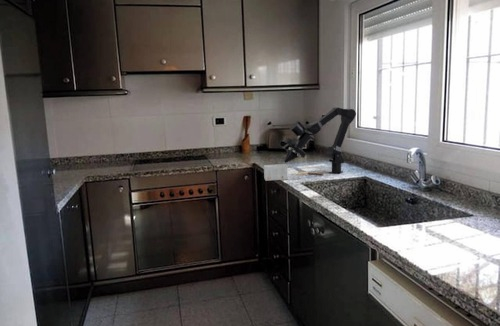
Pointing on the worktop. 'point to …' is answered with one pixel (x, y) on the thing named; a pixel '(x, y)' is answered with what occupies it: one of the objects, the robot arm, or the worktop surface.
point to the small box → (275, 172)
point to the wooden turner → (308, 173)
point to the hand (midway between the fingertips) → (284, 162)
